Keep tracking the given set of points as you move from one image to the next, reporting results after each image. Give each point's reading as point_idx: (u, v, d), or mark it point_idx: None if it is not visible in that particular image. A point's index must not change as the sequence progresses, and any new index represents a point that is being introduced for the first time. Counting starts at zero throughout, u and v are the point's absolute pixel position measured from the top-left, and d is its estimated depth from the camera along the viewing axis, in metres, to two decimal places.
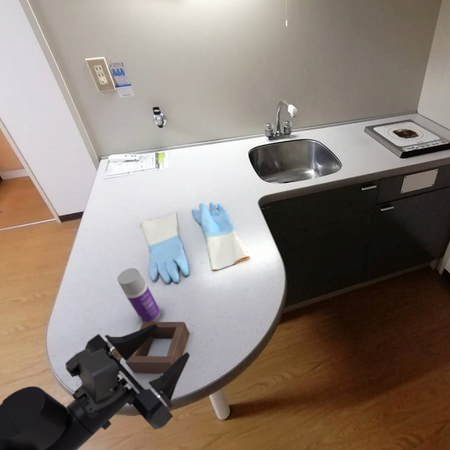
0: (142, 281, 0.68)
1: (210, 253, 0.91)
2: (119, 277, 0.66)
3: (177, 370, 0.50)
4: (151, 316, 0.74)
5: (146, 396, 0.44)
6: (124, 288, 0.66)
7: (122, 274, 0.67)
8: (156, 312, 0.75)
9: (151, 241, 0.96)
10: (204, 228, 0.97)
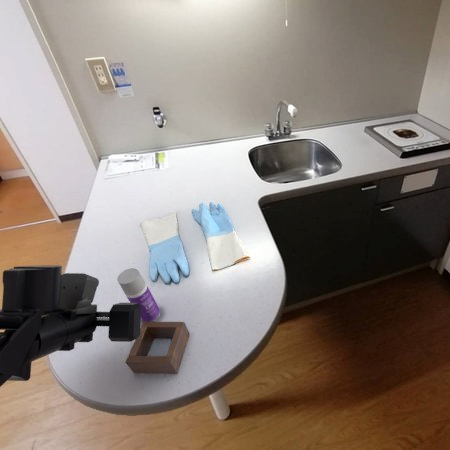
0: (142, 281, 0.68)
1: (210, 253, 0.91)
2: (119, 277, 0.66)
3: None
4: (151, 316, 0.74)
5: (124, 303, 0.53)
6: (124, 288, 0.66)
7: (122, 274, 0.67)
8: (156, 312, 0.75)
9: (151, 241, 0.96)
10: (204, 228, 0.97)
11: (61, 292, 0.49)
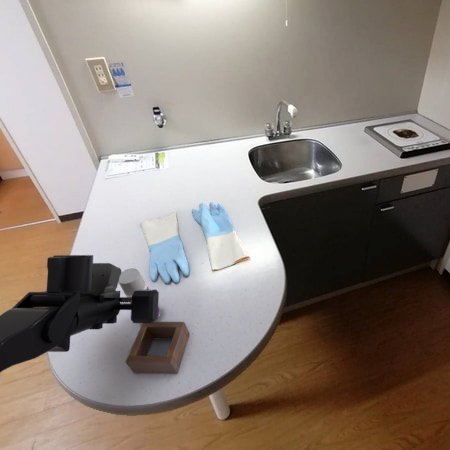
0: (142, 281, 0.68)
1: (210, 253, 0.91)
2: (119, 277, 0.66)
3: None
4: None
5: (143, 290, 0.60)
6: (124, 288, 0.66)
7: (122, 274, 0.67)
8: None
9: (151, 241, 0.96)
10: (204, 228, 0.97)
11: None
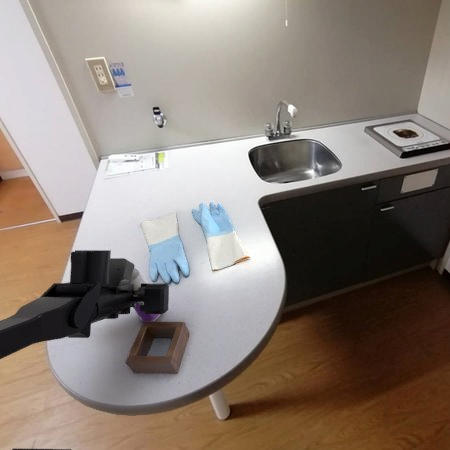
0: (142, 281, 0.68)
1: (210, 253, 0.91)
2: None
3: None
4: (150, 316, 0.74)
5: (155, 283, 0.65)
6: None
7: None
8: None
9: (151, 241, 0.96)
10: (204, 228, 0.97)
11: None
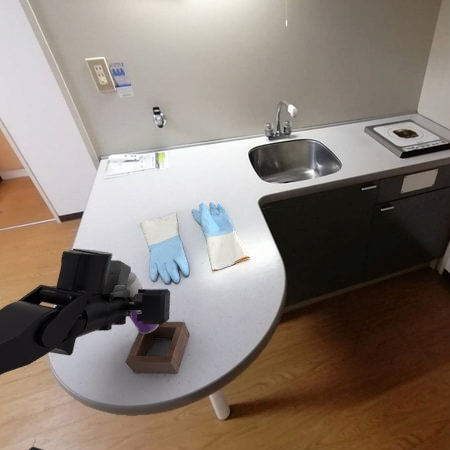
0: (139, 286, 0.60)
1: (210, 253, 0.91)
2: None
3: None
4: (149, 326, 0.65)
5: (154, 289, 0.57)
6: None
7: None
8: None
9: (151, 241, 0.96)
10: (204, 228, 0.97)
11: None
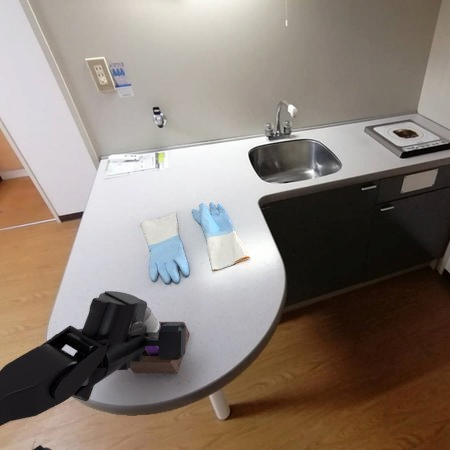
0: (154, 320, 0.61)
1: (210, 253, 0.91)
2: None
3: None
4: None
5: (170, 324, 0.57)
6: None
7: None
8: None
9: (151, 241, 0.96)
10: (204, 228, 0.97)
11: None
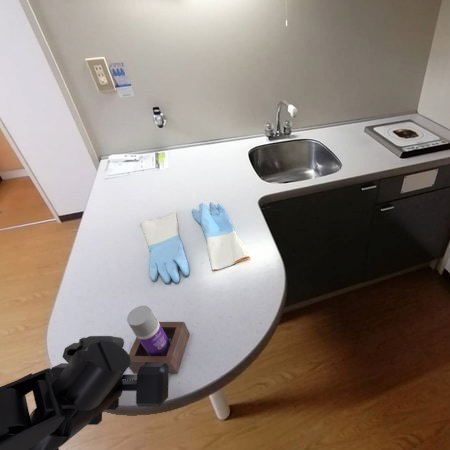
0: (154, 320, 0.61)
1: (210, 253, 0.91)
2: (129, 317, 0.59)
3: None
4: None
5: (151, 364, 0.50)
6: (134, 329, 0.59)
7: (132, 313, 0.59)
8: None
9: (151, 241, 0.96)
10: (204, 228, 0.97)
11: None
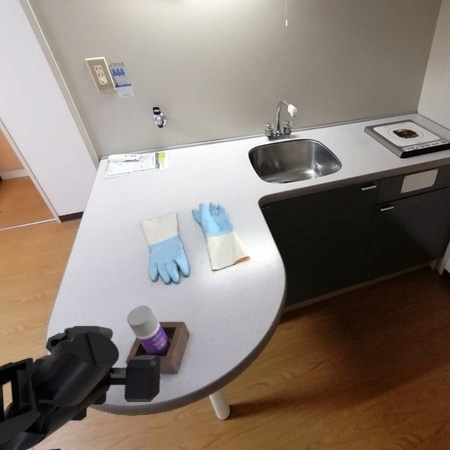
0: (154, 320, 0.61)
1: (210, 253, 0.91)
2: (129, 317, 0.59)
3: None
4: None
5: (141, 357, 0.47)
6: (134, 329, 0.59)
7: (132, 313, 0.59)
8: None
9: (151, 241, 0.96)
10: (204, 228, 0.97)
11: None
